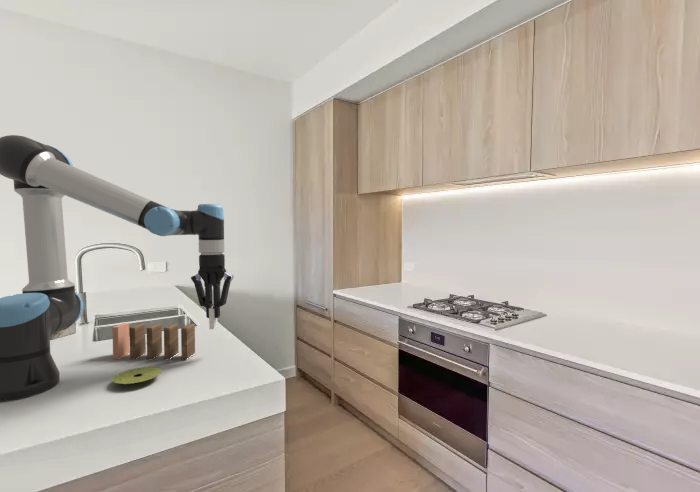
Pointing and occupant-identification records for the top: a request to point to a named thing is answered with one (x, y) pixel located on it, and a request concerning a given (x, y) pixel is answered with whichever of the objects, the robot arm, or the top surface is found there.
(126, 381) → the green round flat disc
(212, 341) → the top surface
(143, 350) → the domino
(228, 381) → the top surface
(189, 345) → the domino
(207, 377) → the top surface
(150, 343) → the domino
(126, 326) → the domino
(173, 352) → the domino
